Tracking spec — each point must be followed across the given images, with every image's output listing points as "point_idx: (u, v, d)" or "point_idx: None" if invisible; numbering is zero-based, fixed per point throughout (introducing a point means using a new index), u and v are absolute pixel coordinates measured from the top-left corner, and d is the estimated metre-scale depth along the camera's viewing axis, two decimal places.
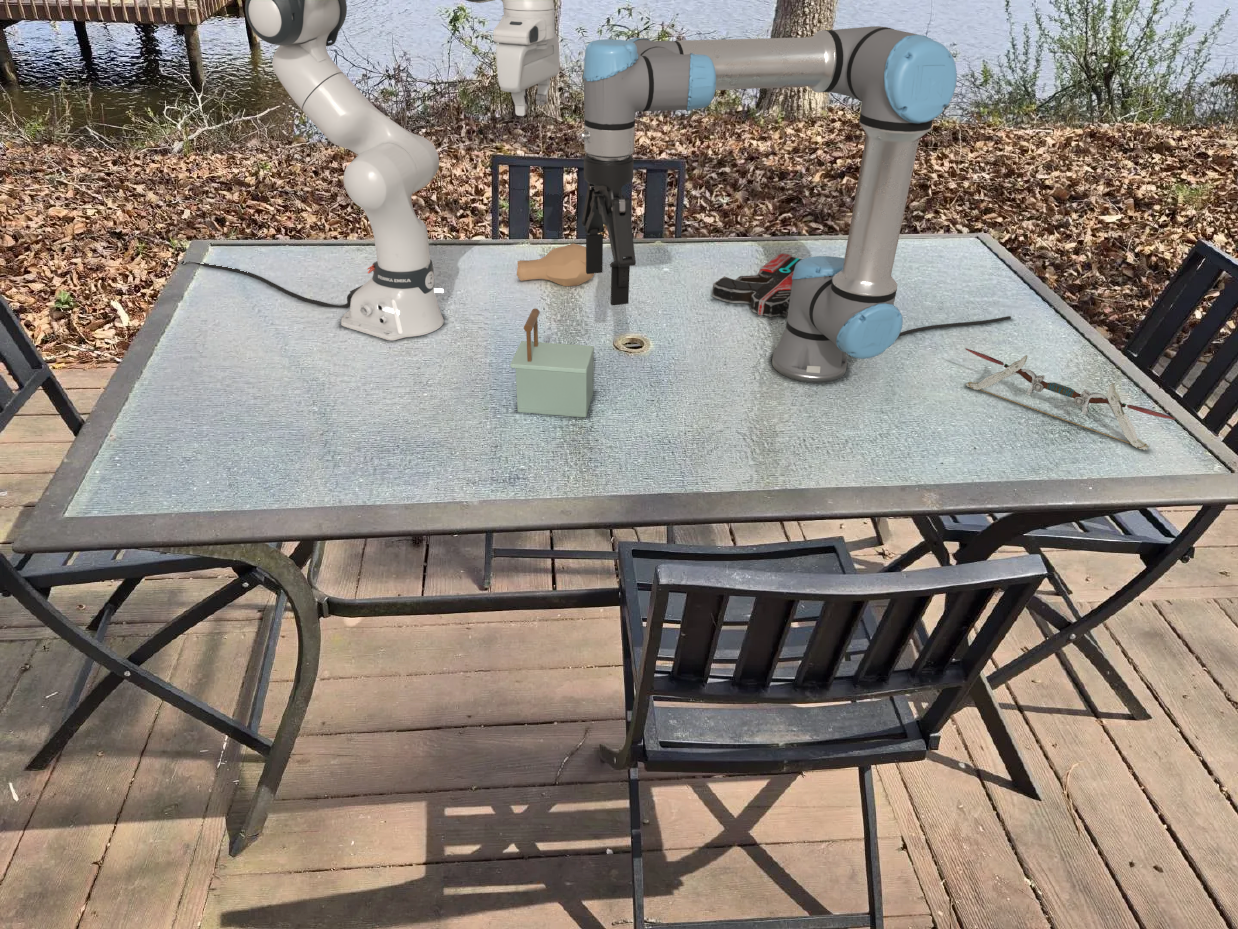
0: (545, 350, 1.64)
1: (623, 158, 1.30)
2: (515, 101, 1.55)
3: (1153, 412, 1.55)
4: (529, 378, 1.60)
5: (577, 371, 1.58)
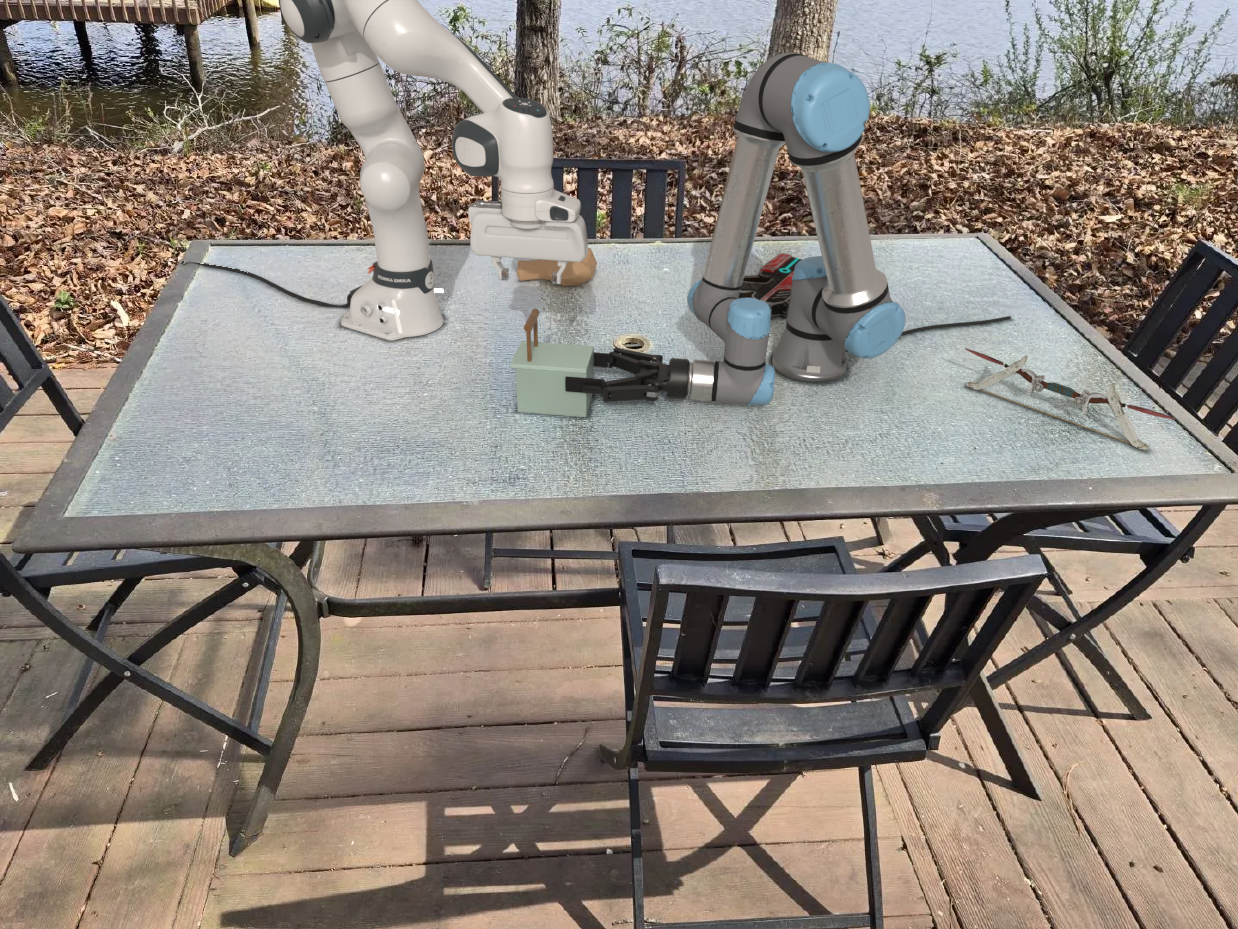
0: (545, 350, 1.64)
1: None
2: (562, 271, 1.53)
3: (1153, 412, 1.55)
4: (529, 378, 1.60)
5: (577, 371, 1.58)
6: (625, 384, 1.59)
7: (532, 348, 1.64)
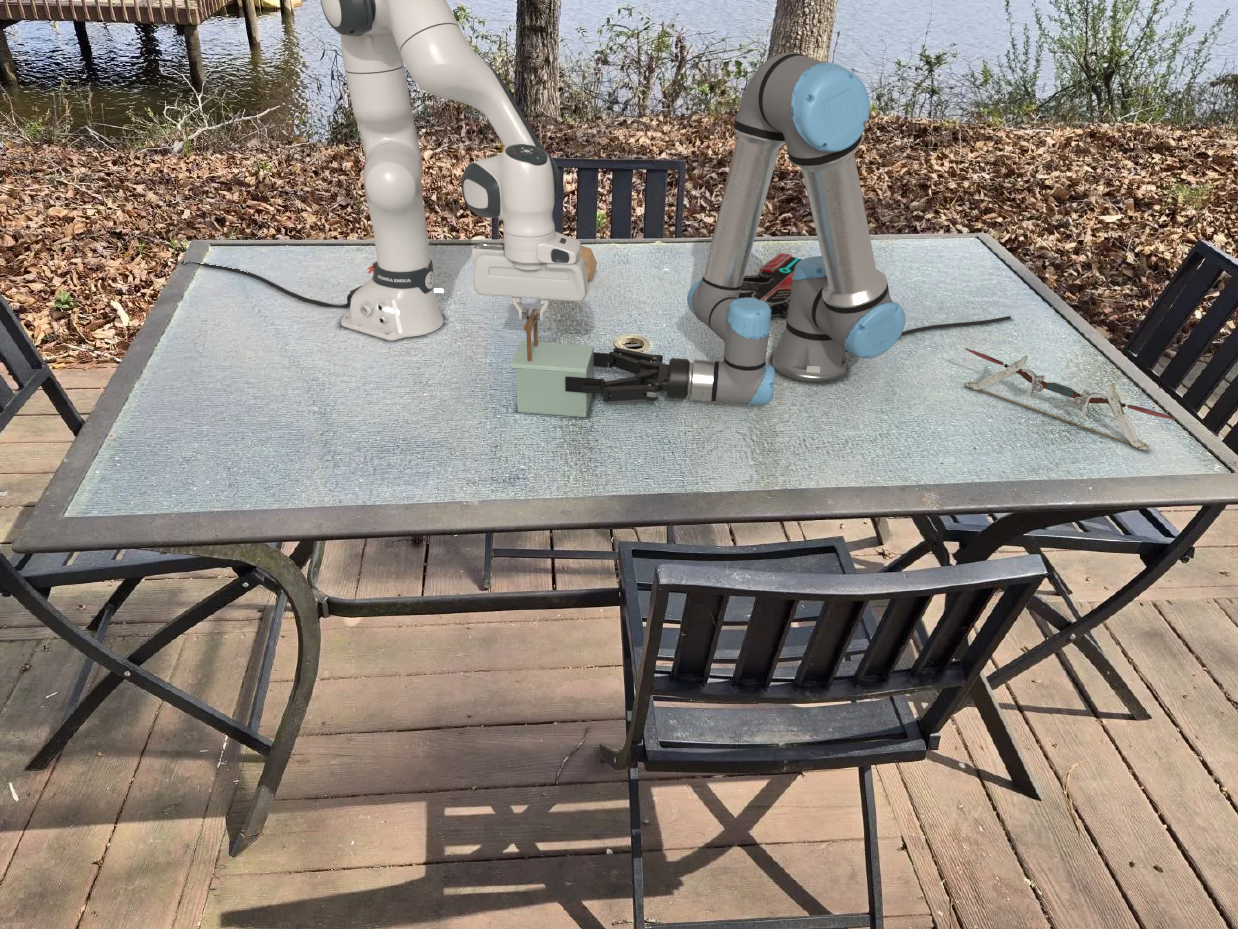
0: (545, 350, 1.64)
1: None
2: (545, 308, 1.57)
3: (1153, 412, 1.55)
4: (529, 378, 1.60)
5: (577, 371, 1.58)
6: (625, 384, 1.59)
7: (532, 348, 1.64)
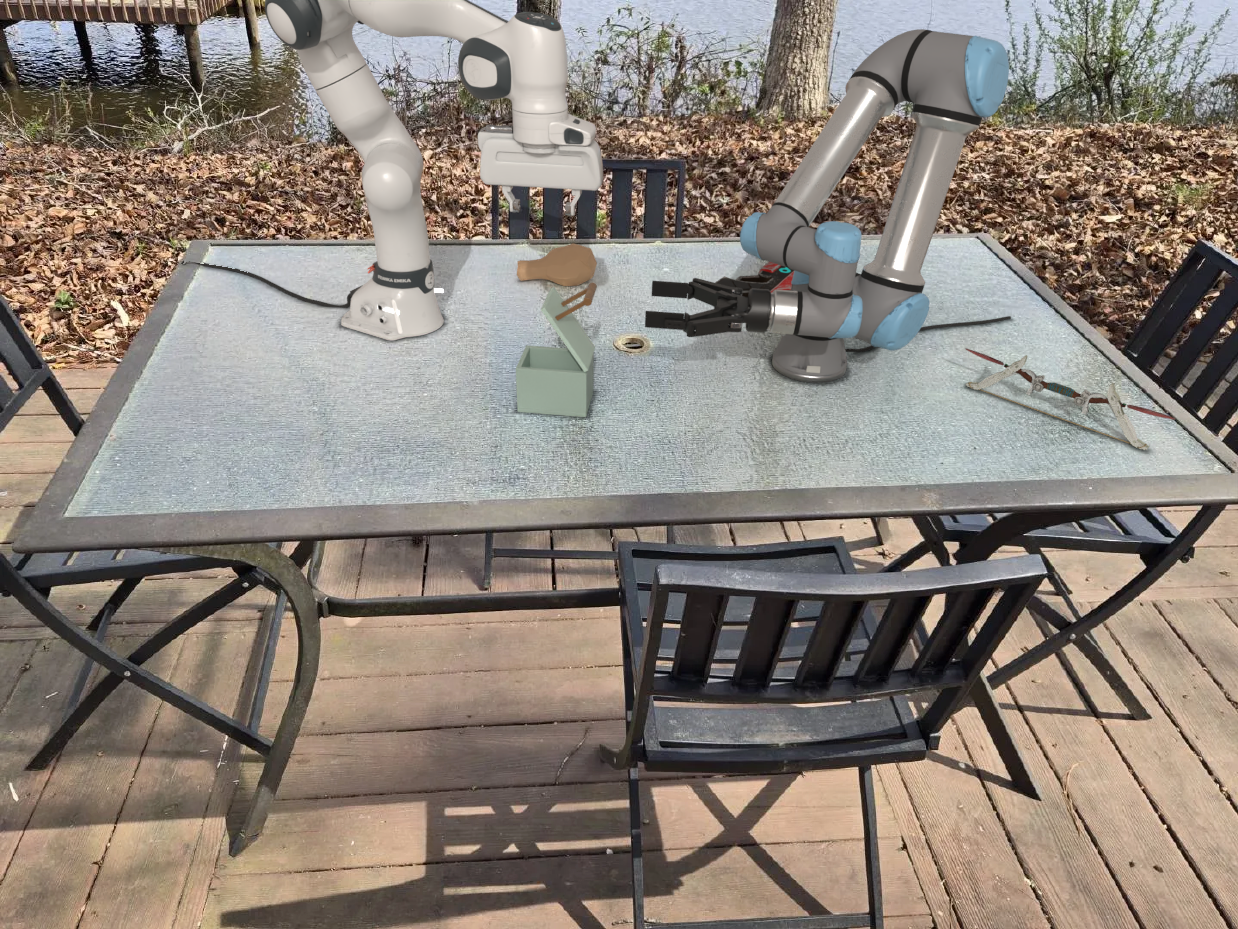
0: (567, 317, 1.60)
1: None
2: None
3: (1153, 412, 1.55)
4: (529, 378, 1.60)
5: (581, 364, 1.58)
6: (708, 317, 1.49)
7: (559, 304, 1.59)
